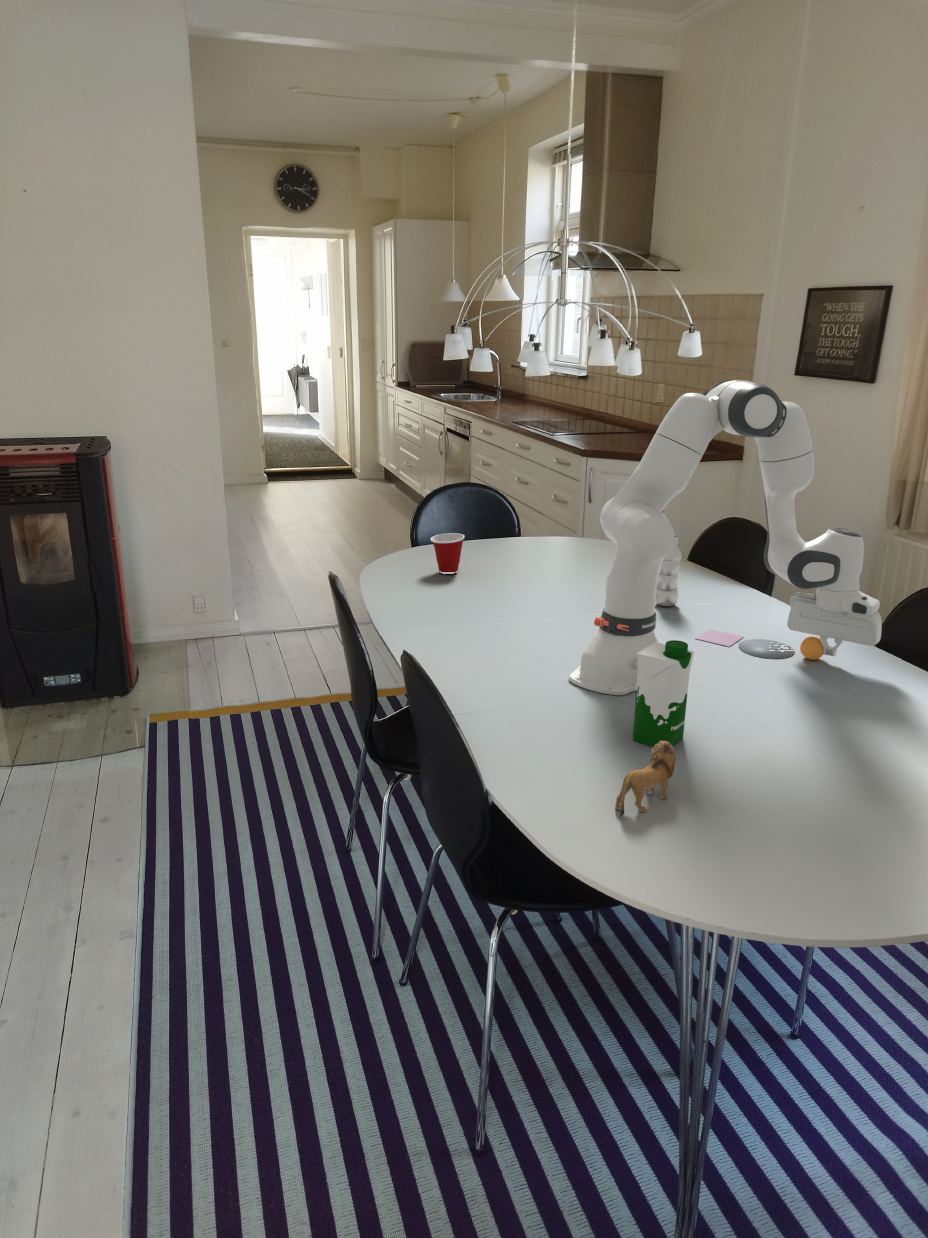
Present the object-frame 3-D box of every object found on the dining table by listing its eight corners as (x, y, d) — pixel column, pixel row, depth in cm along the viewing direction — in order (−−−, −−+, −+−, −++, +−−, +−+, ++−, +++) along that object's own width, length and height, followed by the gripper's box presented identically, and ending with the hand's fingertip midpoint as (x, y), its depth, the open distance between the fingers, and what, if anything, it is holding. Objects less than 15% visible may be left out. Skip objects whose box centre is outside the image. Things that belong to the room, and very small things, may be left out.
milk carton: (668, 755, 157) (678, 653, 151) (625, 740, 163) (632, 642, 156) (689, 738, 164) (699, 640, 157) (647, 724, 169) (654, 629, 163)
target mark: (783, 663, 200) (783, 662, 200) (729, 650, 208) (730, 649, 208) (802, 647, 210) (802, 647, 210) (750, 636, 218) (750, 635, 218)
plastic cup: (426, 569, 276) (426, 533, 272) (458, 567, 279) (458, 531, 275) (435, 578, 266) (435, 541, 262) (468, 576, 269) (469, 538, 265)
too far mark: (729, 647, 210) (729, 646, 210) (695, 639, 216) (695, 638, 216) (743, 637, 217) (743, 636, 217) (710, 629, 222) (710, 629, 222)
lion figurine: (652, 780, 149) (656, 733, 146) (680, 790, 145) (684, 742, 142) (607, 814, 138) (610, 764, 135) (636, 826, 135) (640, 775, 132)
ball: (824, 643, 198) (801, 635, 201) (817, 665, 199) (794, 656, 202) (831, 639, 202) (807, 631, 205) (823, 660, 204) (801, 652, 207)
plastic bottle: (678, 609, 238) (684, 539, 232) (653, 607, 239) (658, 538, 233) (677, 602, 244) (683, 534, 238) (653, 601, 245) (658, 533, 239)
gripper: (786, 593, 199) (780, 649, 204) (879, 610, 187) (871, 668, 191) (795, 587, 204) (789, 641, 208) (887, 603, 192) (879, 660, 196)
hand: (829, 654), depth 200 cm, fingers closed
